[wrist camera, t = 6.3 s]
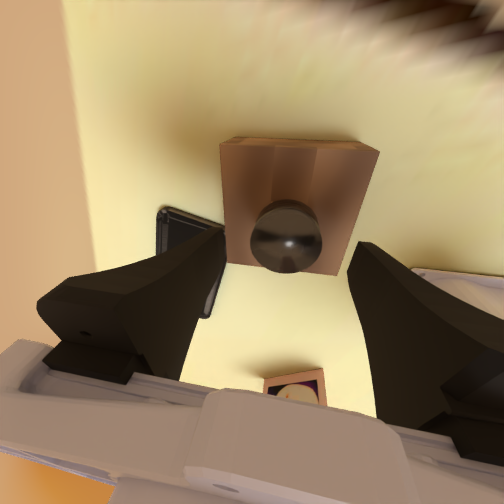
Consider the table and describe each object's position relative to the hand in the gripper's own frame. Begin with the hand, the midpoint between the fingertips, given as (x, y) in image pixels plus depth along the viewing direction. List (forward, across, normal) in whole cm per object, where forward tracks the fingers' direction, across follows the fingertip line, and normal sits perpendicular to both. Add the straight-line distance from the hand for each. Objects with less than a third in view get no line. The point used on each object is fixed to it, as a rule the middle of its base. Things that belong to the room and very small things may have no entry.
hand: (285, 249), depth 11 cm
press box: (+8, 0, 0) cm, 8 cm away
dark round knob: (+8, 0, 0) cm, 8 cm away
